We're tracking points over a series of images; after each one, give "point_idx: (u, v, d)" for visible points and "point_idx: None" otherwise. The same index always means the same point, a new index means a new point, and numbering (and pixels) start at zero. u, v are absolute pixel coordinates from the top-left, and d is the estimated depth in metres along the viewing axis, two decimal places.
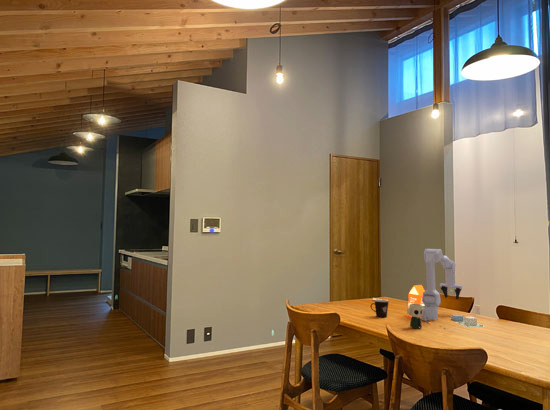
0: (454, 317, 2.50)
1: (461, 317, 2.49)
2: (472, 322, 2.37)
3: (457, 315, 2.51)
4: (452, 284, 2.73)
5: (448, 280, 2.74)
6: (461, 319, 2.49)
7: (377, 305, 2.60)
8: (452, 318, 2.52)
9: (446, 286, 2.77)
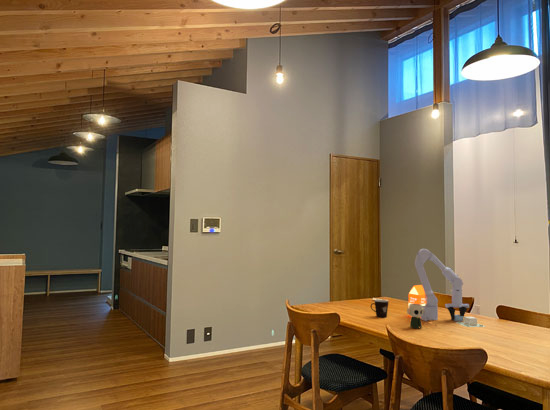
0: None
1: (461, 317, 2.49)
2: (472, 322, 2.37)
3: (457, 315, 2.51)
4: None
5: None
6: (461, 319, 2.49)
7: (377, 305, 2.60)
8: None
9: (459, 305, 2.53)
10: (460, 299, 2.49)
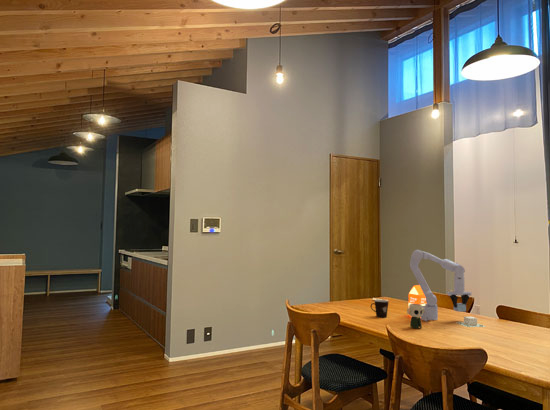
0: None
1: (463, 305, 2.47)
2: (472, 322, 2.37)
3: (459, 303, 2.50)
4: None
5: None
6: (463, 307, 2.47)
7: (377, 305, 2.60)
8: (454, 307, 2.50)
9: (461, 293, 2.52)
10: (462, 287, 2.48)
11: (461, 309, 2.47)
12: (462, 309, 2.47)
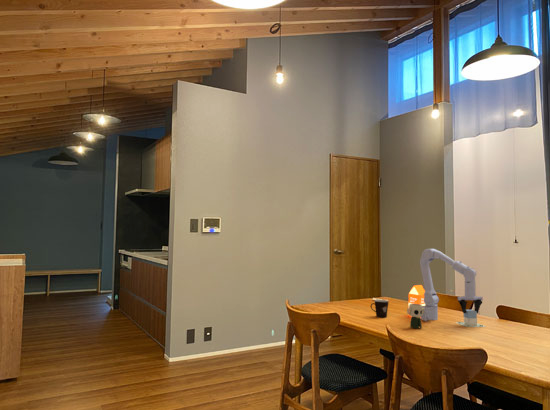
0: (467, 312, 2.39)
1: (474, 312, 2.38)
2: (472, 322, 2.37)
3: (470, 310, 2.40)
4: None
5: None
6: (474, 314, 2.38)
7: (377, 305, 2.60)
8: (465, 313, 2.41)
9: (472, 298, 2.42)
10: (473, 291, 2.38)
11: (472, 316, 2.37)
12: (473, 316, 2.38)
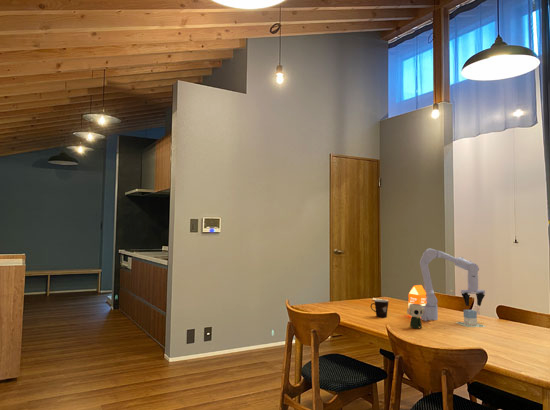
0: (467, 312, 2.39)
1: (474, 312, 2.38)
2: (472, 322, 2.37)
3: (470, 310, 2.40)
4: None
5: None
6: (474, 314, 2.38)
7: (377, 305, 2.60)
8: (465, 313, 2.41)
9: None
10: (476, 285, 2.47)
11: (472, 316, 2.37)
12: (473, 316, 2.38)
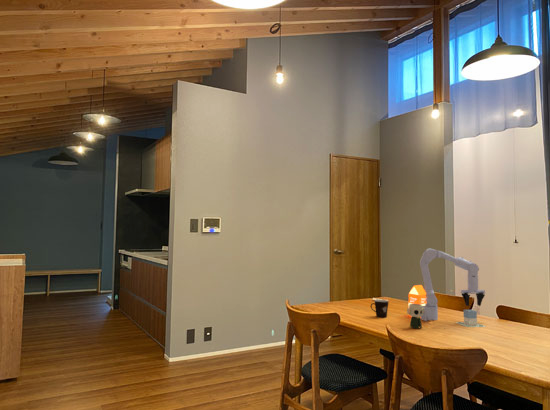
0: (467, 312, 2.39)
1: (474, 312, 2.38)
2: (472, 322, 2.37)
3: (470, 310, 2.40)
4: None
5: None
6: (474, 314, 2.38)
7: (377, 305, 2.60)
8: (465, 313, 2.41)
9: None
10: (476, 285, 2.47)
11: (472, 316, 2.37)
12: (473, 316, 2.38)
